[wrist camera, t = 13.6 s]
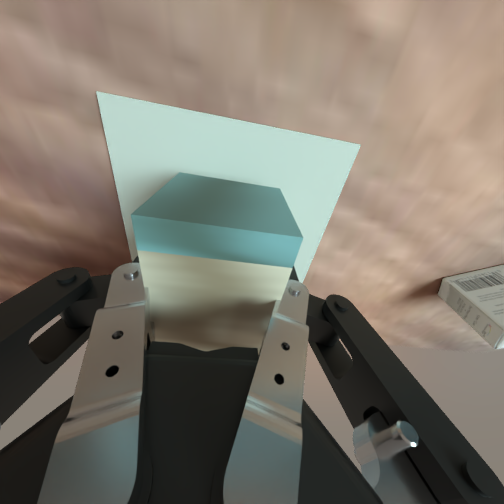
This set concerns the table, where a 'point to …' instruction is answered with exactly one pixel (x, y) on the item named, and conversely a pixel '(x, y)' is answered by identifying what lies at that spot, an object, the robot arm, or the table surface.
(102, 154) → the table surface
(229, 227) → the ash block
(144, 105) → the mat
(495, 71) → the table surface
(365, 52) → the table surface
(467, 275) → the ink cartridge box
